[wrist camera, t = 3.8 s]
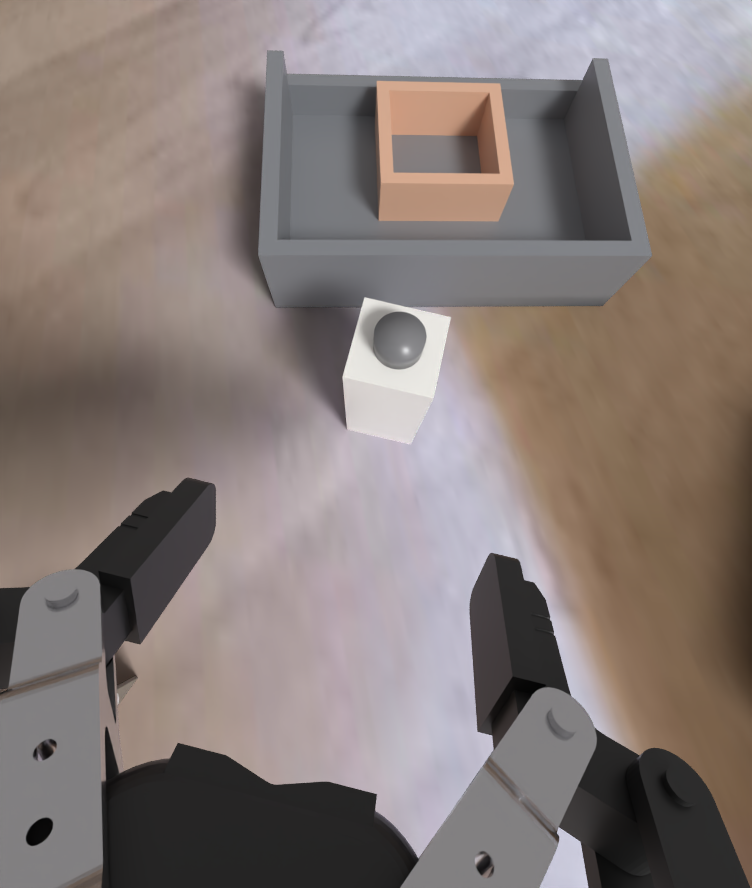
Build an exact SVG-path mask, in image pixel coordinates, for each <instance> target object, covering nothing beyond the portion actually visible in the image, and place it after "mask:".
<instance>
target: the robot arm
mask: <svg viewBox="0 0 752 888" xmlns="http://www.w3.org/2000/svg"><path fill="white" fill-rule="evenodd" d="M215 526H216V488H215V485H214V484H212V483H208V482H204V481H200V480H196V479H192V478H186V479H184V480H183V481H182V482H181V483H180V484H179V485H178V486H177V487H176V488H175V489H174V491H173V492H172V493H171V492H167V491H161V492H159V493H157V494H156V495H154V496H152V497H150V498H148V499H146V500H144V501H143V502H142V503H141V504H140V505H139V506H138V507H137V508H136V509H135V510H134V511H133V512H132V515H131V516H130V515H129V516H128V517H127V518H126V519H125V520H124V521H123V522H122V523H121V526H120V527H119V526H118V527H117V528H116V529H115V530H114V531H113V532H112V533H111V534H110V535H109V536H108V537H107V538H106V539H105V540H104V541H103V542H102V543H101V544H100V545H99V546H98V547H97V548H96V549H95V550H94V551H93V552H92V553H91V554H90V555H89V556H88V557H87V558H86V559H85V560H84V561H83V562H82V563H81V564H80V565H79V566H78V567H76V568H75V569H73V570H64V571H60V572H56V573H53V574H51V575H48V576H46V577H44V578H42V579H41V580H39V581H37V582H36V583H35V584H34V585H32V586H31V587H25V588H0V689H6V688H8V689H7V691H4V692H1V693H0V888H539V887H540V885H541V883H542V880H543V878H544V876H545V874H546V872H547V869H548V867H549V865H550V863H551V861H552V858H553V856H554V854H555V851H556V849H557V846H558V843H559V836H558V834H557V830H558V827H560V828H561V829H563V830H564V831H566V832H567V833H569V834H570V835H572V836H573V837H575V838H576V839H578V840H579V841H581V846H582V852H583V858H584V863H585V869H586V875H587V881H588V886H589V888H750V886H749V883H748V881H747V878H746V876H745V874H744V871H743V869H742V866H741V864H740V861H739V859H738V857H737V854H736V852H735V849H734V847H733V844H732V842H731V840H730V837H729V835H728V832H727V830H726V827H725V825H724V823H723V820H722V818H721V815H720V813H719V811H718V808H717V806H716V803H715V801H714V799H713V797H712V794H711V793H710V791H709V789H708V788H707V786H706V784H705V783H704V782H703V780H702V779H701V778H700V776H699V775H698V774H697V773H696V772H695V771H694V770H693V769H692V768H691V767H690V766H689V765H688V764H687V763H686V762H685V761H683V760H682V759H681V758H679V757H678V756H676V755H674V754H673V753H671V752H669V751H666V750H664V749H659V748H651V749H648V750H646V751H644V752H643V753H642V754H641V755H638V754H636V753H634V752H633V751H631V750H629V749H628V748H626V747H624V746H622V745H621V744H619V743H617V742H615V741H614V740H612V739H610V738H609V737H607V736H605V735H604V734H602V733H601V732H599V731H598V730H597V729H596V728H595V727H594V725H593V722H592V720H591V718H590V717H589V715H588V713H587V712H586V711H585V709H584V708H583V707H582V706H581V705H580V703H578V702H577V701H576V700H575V699H574V698H573V697H571V694H570V691H569V687H568V684H567V680H566V676H565V672H564V668H563V664H562V661H561V657H560V653H559V649H558V645H557V641H556V638H555V636H554V630H553V626H552V622H551V621H550V615H549V611H548V607H547V603H546V600H545V598H544V597H543V595H542V594H541V592H540V591H539V589H538V588H537V586H536V585H535V583H534V582H529V581H525V580H524V578H523V574H522V569H521V565H520V562H519V560H518V559H515V558H511V557H507V556H503V555H498V554H494V553H491V554H489V556H488V558H487V560H486V562H485V564H484V566H483V568H482V571H481V573H480V575H479V577H478V579H477V581H476V584H475V586H474V588H473V591H472V594H471V599H470V625H471V640H472V655H473V670H474V685H475V700H476V715H477V730H478V732H481V733H485V734H489V735H492V736H493V747H494V750H493V752H492V753H491V755H490V756H489V758H488V759H487V760H486V762H485V763H484V765H483V766H482V768H481V769H480V771H479V772H478V773H477V775H476V776H475V778H474V779H473V781H472V782H471V784H470V785H469V787H468V788H467V789H466V791H465V792H464V794H463V795H462V797H461V798H460V800H459V801H458V802H457V804H456V805H455V807H454V808H453V810H452V811H451V813H450V814H449V815H448V817H447V818H446V820H445V821H444V823H443V824H442V826H441V827H440V828H439V830H438V831H437V833H436V834H435V836H434V837H433V838H432V840H431V841H430V843H429V844H428V846H427V847H426V849H425V850H424V851H423V853H422V854H421V856H420V857H419V859H418V857H417V856H416V854H415V852H414V850H413V849H412V847H411V846H410V845H409V843H408V842H407V840H406V839H405V838H404V836H403V835H402V834H401V833H400V832H399V831H398V830H397V828H396V827H395V826H394V825H393V824H392V823H390V822H389V821H388V820H387V819H386V818H385V817H383V816H382V815H381V814H379V813H378V812H376V811H375V805H376V796H377V794H374V793H370V792H366V791H362V790H358V789H354V788H350V787H346V786H343V785H339V784H335V783H331V782H313V783H298V784H282V785H274V784H270V783H268V782H266V781H265V780H263V779H262V778H260V777H259V776H257V775H256V774H254V773H252V772H251V771H249V770H248V769H246V768H245V767H243V766H242V765H240V764H239V763H237V762H236V761H234V760H233V759H231V758H229V757H228V756H226V755H223V754H219V753H215V752H211V751H207V750H203V749H199V748H195V747H192V746H188V745H184V744H180V743H178V744H177V746H176V748H175V750H174V752H173V754H172V756H171V758H170V759H161V760H156V761H150V762H147V763H144V764H141V765H138V766H135V767H132V768H130V769H128V770H126V771H124V770H123V759H122V750H121V743H120V734H119V719H118V701H117V682H116V664H115V653H116V652H117V650H118V649H119V647H120V646H121V645H122V643H123V642H124V641H129V642H133V643H137V644H141V643H142V641H143V640H144V638H145V637H146V636H147V634H148V633H149V631H150V630H151V628H152V627H153V625H154V624H155V622H156V621H157V620H158V618H159V617H160V615H161V614H162V612H163V611H164V609H165V608H166V606H167V605H168V604H169V602H170V601H171V599H172V598H173V596H174V595H175V593H176V592H177V590H178V589H179V588H180V586H181V585H182V583H183V582H184V580H185V579H186V577H187V576H188V574H189V573H190V572H191V570H192V569H193V567H194V566H195V564H196V563H197V561H198V560H199V558H200V557H201V556H202V554H203V553H204V551H205V550H206V548H207V547H208V545H209V544H210V542H211V540H212V537H213V534H214V531H215Z"/></svg>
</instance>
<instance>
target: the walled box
mask: <svg viewBox="0 0 752 888" xmlns="http://www.w3.org/2000/svg"><path fill="white" fill-rule="evenodd" d="M258 256H259V259H260V262H261V265H262V268H263V271H264V274H265V277H266V280H267V283H268V286H269V289H270V292H271V295H272V298H273V301H274V304H275V307H362V304H363V301H364V297H366V298H370V299H374V300H379V301H383V302H387V303H391V304H396V305H400V306H404V307H456V306H603V305H604V304H605V303H606V302H607V301H608V300H609V299H610V298H611V297H612V296H613V295H614V294H615V293H616V292H617V291H618V290H619V289H620V288H621V287H622V286H623V285H624V284H625V283H626V282H627V281H628V280H629V279H630V278H631V277H632V276H633V275H634V274H635V273H636V272H637V271H638V270H639V269H640V268H641V267H642V266H643V265H644V264H645V263H646V261H647V260H648V259H649V258H650V257H651V256H652V253H651V249H650V244H649V240H648V235H647V231H646V226H645V222H644V217H643V213H642V209H641V204H640V200H639V195H638V191H637V186H636V182H635V177H634V173H633V169H632V164H631V160H630V155H629V151H628V146H627V142H626V137H625V133H624V129H623V124H622V120H621V115H620V111H619V106H618V102H617V97H616V93H615V89H614V84H613V80H612V75H611V71H610V66H609V62H608V59H597V58H593V59H592V61H591V63H590V66H589V68H588V70H587V72H586V74H585V76H584V78H583V80H550V79H504V78H458V77H412V76H366V75H320V74H287V72H286V66H285V59H284V52H283V51H268V50H267V67H266V89H265V112H264V134H263V157H262V179H261V202H260V224H259V246H258Z"/></svg>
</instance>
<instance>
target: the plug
mask: <svg viewBox="0 0 752 888" xmlns="http://www.w3.org/2000/svg"><path fill="white" fill-rule="evenodd" d="M450 319H451V317H447V316H443V315H439V314H434V313H430V312H426V311H422V310H417V309H413V308H409V307H404V306H400V305H396V304H391V303H387V302H383V301H379V300H374V299H370V298H366V297H364V301H363V304H362V308H361V312H360V315H359V319H358V323H357V326H356V330H355V333H354V337H353V341H352V344H351V348H350V352H349V355H348V359H347V362H346V366H345V370H344V373H343V389H344V400H345V412H346V423H347V430H351V431H355V432H360V433H364V434H368V435H372V436H376V437H381V438H385V439H389V440H393V441H397V442H402V443H406V444H410V445H411V443H412V441H413V439H414V437H415V435H416V433H417V431H418V429H419V427H420V425H421V423H422V421H423V419H424V417H425V415H426V413H427V411H428V409H429V407H430V405H431V403H432V401H433V399H434V394H435V390H436V385H437V380H438V375H439V371H440V366H441V361H442V357H443V352H444V347H445V343H446V338H447V333H448V328H449V324H450Z"/></svg>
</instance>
